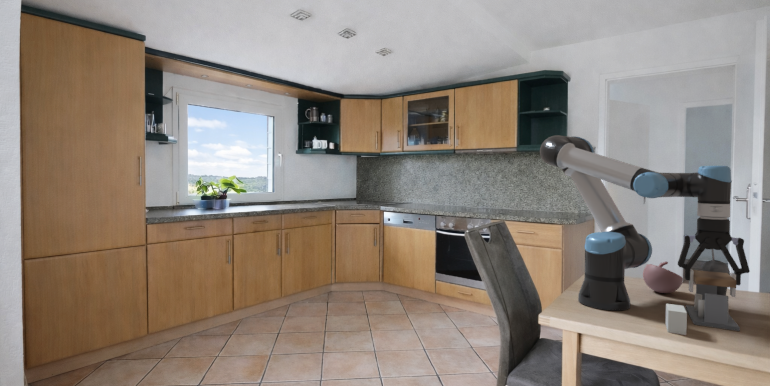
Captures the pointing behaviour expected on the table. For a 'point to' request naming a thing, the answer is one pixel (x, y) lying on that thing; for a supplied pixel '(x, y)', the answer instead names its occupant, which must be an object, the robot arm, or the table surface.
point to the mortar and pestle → (661, 278)
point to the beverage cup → (717, 267)
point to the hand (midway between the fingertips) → (711, 293)
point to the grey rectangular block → (676, 319)
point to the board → (714, 279)
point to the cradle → (711, 309)
